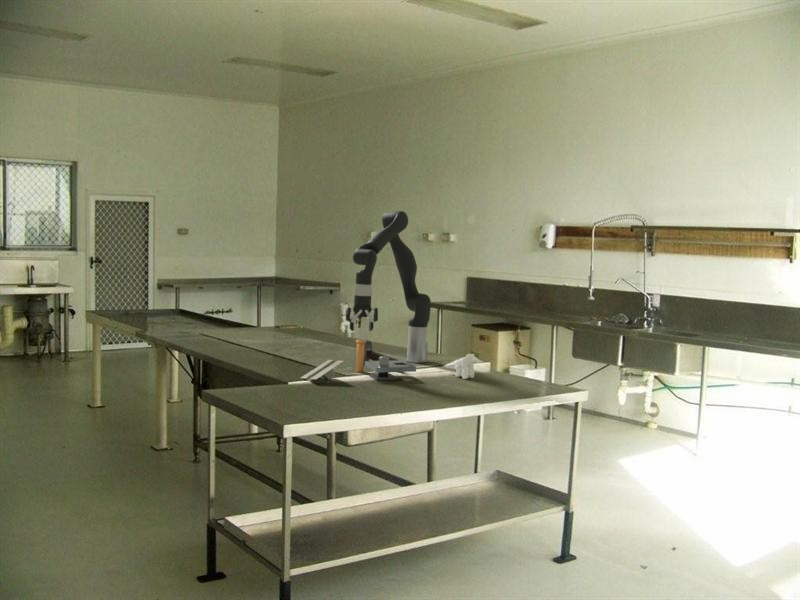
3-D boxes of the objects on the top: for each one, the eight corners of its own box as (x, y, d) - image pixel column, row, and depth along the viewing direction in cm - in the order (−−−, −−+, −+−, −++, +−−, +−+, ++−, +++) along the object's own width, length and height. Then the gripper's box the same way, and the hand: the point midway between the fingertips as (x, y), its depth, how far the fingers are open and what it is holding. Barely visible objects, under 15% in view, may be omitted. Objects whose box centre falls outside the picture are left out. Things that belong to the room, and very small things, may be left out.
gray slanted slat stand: (329, 394, 343) (353, 369, 349) (315, 379, 341) (340, 353, 347) (312, 392, 358) (335, 368, 364) (299, 378, 355) (323, 353, 361)
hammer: (404, 379, 381) (362, 360, 403) (407, 356, 379) (365, 338, 400) (396, 380, 378) (354, 361, 399) (399, 356, 376) (357, 338, 397)
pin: (362, 370, 379) (363, 339, 377) (365, 372, 375) (366, 341, 373) (353, 370, 377) (354, 339, 376) (356, 372, 373) (357, 341, 372)
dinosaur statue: (477, 380, 363) (477, 355, 363) (437, 377, 380) (436, 352, 380) (487, 379, 368) (487, 354, 368) (447, 375, 385) (446, 351, 385)
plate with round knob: (375, 381, 354) (376, 360, 353) (364, 374, 369) (365, 354, 368) (415, 380, 361) (416, 360, 360) (402, 373, 376) (403, 353, 375)
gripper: (375, 293, 379) (373, 329, 380) (345, 293, 374) (343, 329, 375) (380, 295, 372) (379, 332, 373) (350, 294, 367) (348, 331, 368)
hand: (361, 330), depth 374 cm, fingers open, 8 cm apart
